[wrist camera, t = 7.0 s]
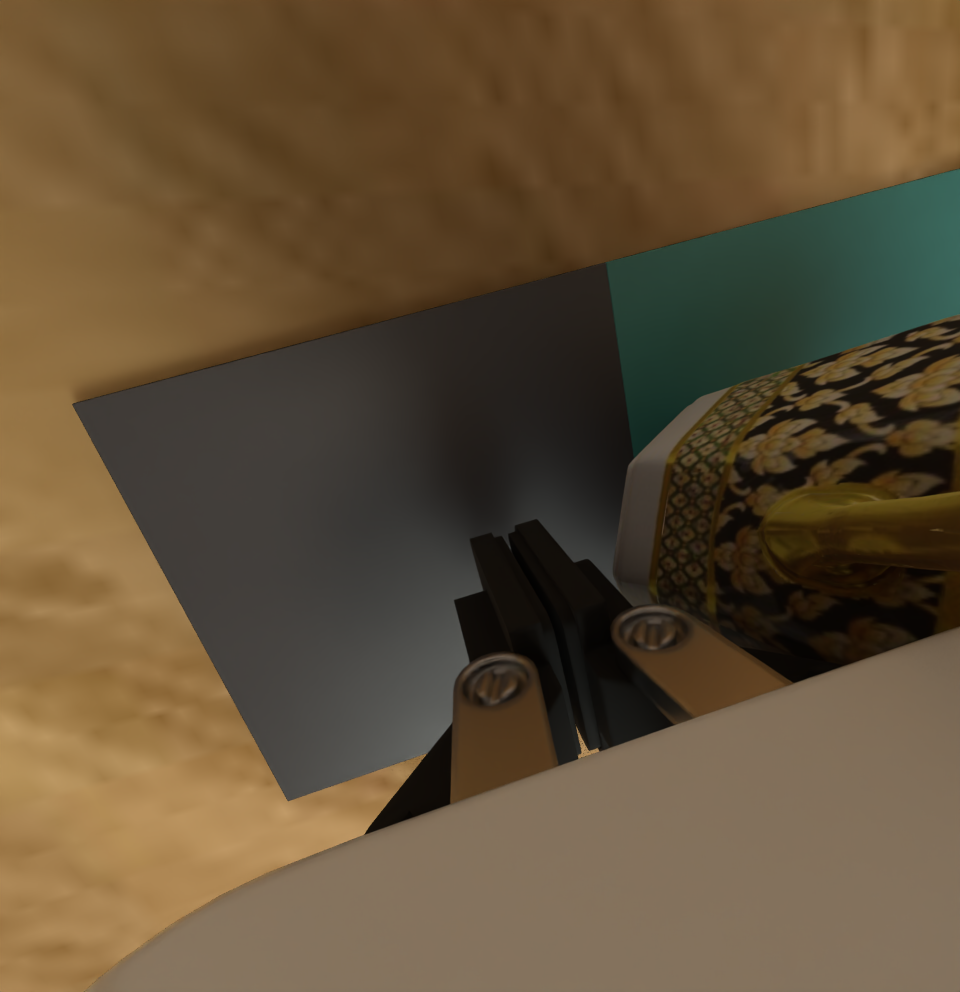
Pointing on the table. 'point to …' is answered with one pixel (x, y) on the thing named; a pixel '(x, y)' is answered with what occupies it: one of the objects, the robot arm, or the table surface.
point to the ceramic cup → (809, 503)
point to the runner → (470, 453)
